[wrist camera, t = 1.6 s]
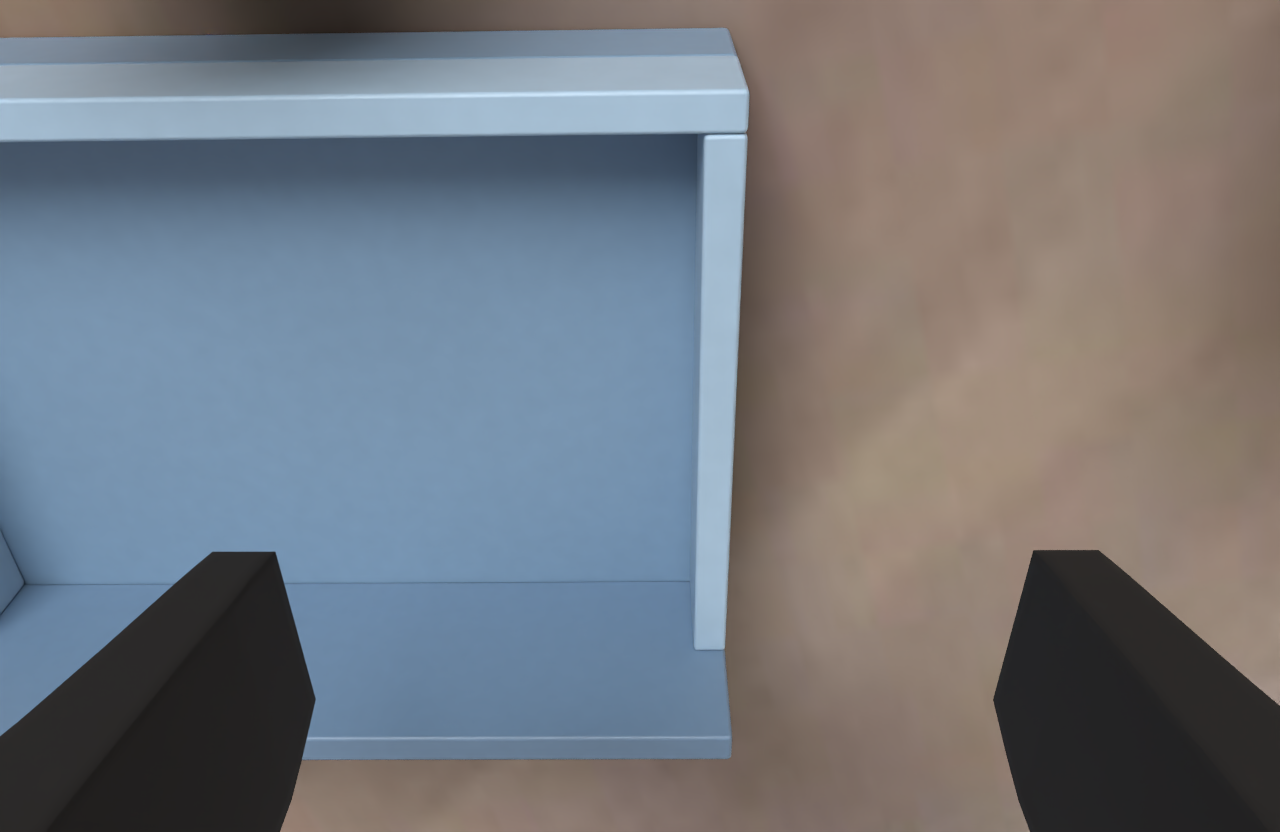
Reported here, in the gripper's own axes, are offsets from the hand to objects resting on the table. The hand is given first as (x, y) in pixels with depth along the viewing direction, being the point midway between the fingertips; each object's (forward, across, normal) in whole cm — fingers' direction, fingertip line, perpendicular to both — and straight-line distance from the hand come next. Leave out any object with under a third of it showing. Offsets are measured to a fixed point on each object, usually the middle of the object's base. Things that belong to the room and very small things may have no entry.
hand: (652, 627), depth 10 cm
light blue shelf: (+10, +6, +2) cm, 12 cm away
